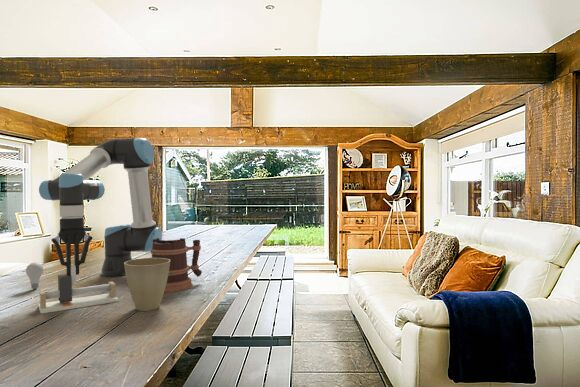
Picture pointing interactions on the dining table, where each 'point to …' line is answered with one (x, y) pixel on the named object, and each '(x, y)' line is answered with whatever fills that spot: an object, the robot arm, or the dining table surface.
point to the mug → (177, 262)
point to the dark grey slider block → (65, 288)
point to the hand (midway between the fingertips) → (73, 284)
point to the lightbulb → (34, 274)
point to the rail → (78, 302)
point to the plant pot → (147, 281)
